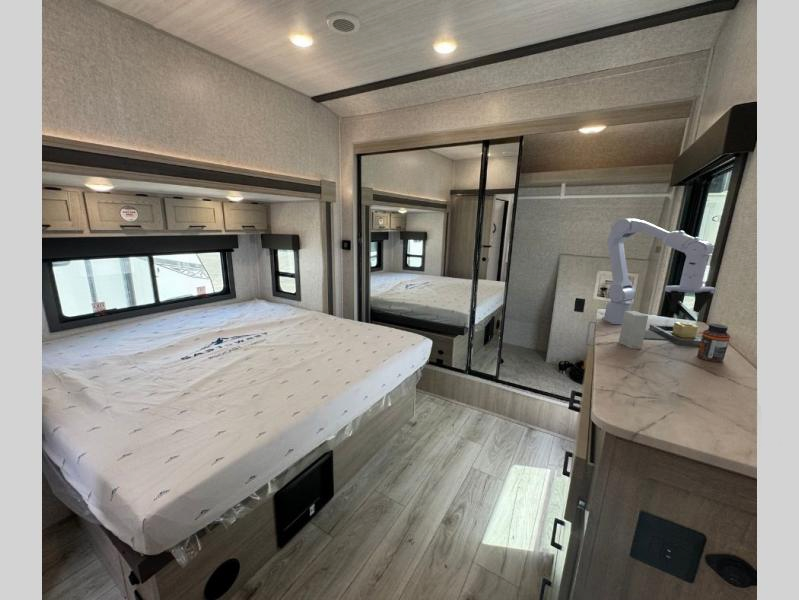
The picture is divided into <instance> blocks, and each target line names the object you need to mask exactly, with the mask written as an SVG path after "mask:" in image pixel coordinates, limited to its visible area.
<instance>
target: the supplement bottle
mask: <svg viewBox="0 0 799 600" xmlns="http://www.w3.org/2000/svg"><path fill="white" fill-rule="evenodd" d="M700 339H701V342H700V346H698V351H697V356H698V358H700V359H702V360H705V361H709V362H711V363H712V362H713V363H721V362H724V360H725V356H726V352H727V349H728V347H729V342H730V339H731V335H730V333H728V326H727V325H725V324H720V323H709V325H708V328H707V329H705V330H703V331H702V335H701V338H700Z"/></svg>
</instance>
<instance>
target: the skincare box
mask: <svg viewBox="0 0 799 600" xmlns="http://www.w3.org/2000/svg"><path fill="white" fill-rule="evenodd" d="M648 319H649V315H647V314H645V313H641V312H639V311H635V310H630V311H624V316H623V322H622V324H621V328H620V334H619V338H618V343H619V344H622V345H623V346H625V347H626V348H629V349H633V350H634V349H638V350H639V349H641V350H642V349H643V344H644V341H645V339H644V335H645V331H647V323H648Z"/></svg>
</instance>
